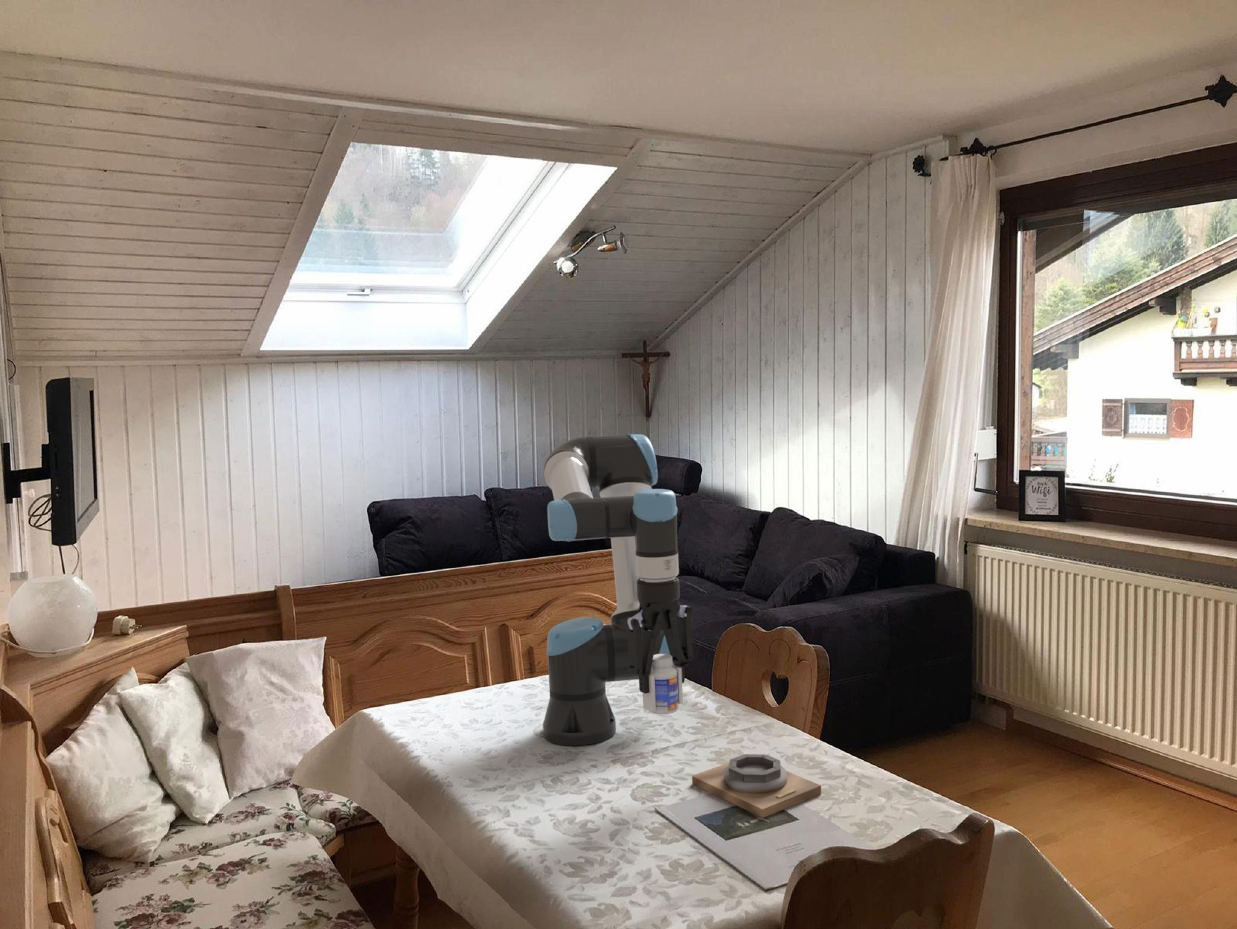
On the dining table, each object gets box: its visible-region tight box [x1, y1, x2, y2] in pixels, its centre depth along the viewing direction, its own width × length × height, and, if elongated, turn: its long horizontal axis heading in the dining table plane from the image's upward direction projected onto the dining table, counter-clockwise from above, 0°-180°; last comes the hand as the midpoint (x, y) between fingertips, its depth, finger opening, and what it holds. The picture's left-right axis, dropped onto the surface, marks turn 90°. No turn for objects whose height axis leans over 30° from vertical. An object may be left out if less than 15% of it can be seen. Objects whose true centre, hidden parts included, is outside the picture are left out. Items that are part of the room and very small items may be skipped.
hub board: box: [691, 753, 822, 819], centre depth 174 cm, size 18×14×4 cm
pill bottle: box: [649, 654, 679, 715], centre depth 176 cm, size 5×5×10 cm
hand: (663, 705), depth 176 cm, fingers closed on pill bottle, 5 cm apart
